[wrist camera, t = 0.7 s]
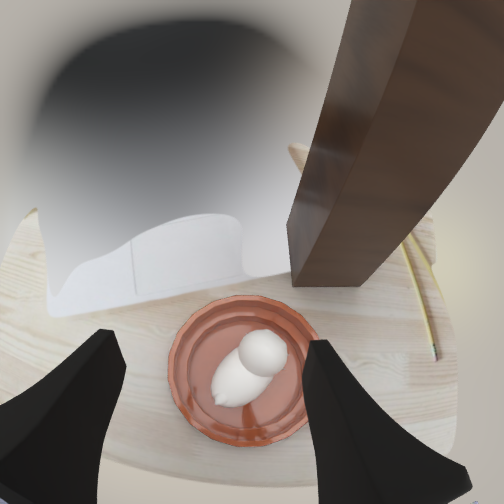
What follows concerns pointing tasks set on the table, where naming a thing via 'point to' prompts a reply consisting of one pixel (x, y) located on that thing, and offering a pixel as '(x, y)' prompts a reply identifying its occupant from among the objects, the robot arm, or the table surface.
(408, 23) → the taupe notched tower
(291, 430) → the bowl
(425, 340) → the table surface
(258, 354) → the toy creature
